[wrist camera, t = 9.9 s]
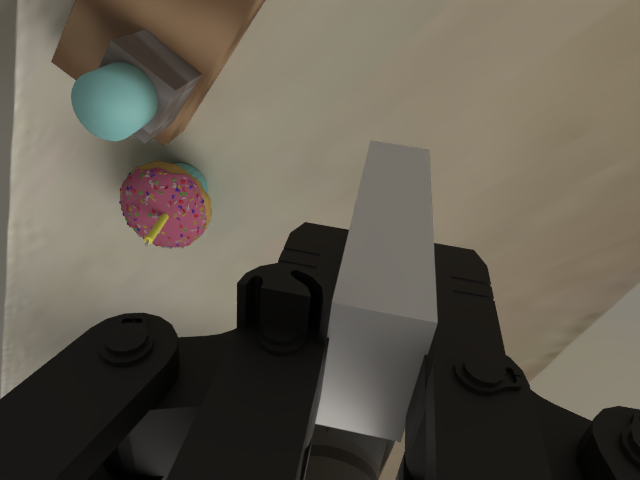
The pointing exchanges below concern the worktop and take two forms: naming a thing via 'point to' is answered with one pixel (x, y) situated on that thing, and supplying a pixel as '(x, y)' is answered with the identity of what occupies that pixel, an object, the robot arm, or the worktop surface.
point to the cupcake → (166, 203)
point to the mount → (157, 48)
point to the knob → (114, 101)
